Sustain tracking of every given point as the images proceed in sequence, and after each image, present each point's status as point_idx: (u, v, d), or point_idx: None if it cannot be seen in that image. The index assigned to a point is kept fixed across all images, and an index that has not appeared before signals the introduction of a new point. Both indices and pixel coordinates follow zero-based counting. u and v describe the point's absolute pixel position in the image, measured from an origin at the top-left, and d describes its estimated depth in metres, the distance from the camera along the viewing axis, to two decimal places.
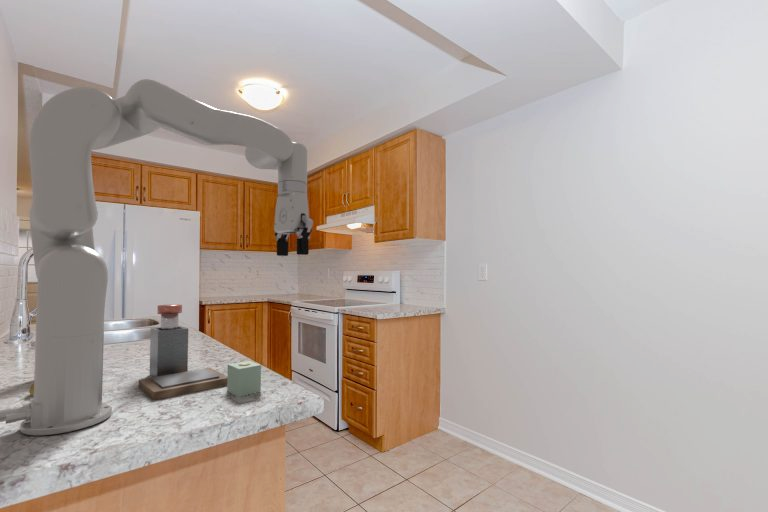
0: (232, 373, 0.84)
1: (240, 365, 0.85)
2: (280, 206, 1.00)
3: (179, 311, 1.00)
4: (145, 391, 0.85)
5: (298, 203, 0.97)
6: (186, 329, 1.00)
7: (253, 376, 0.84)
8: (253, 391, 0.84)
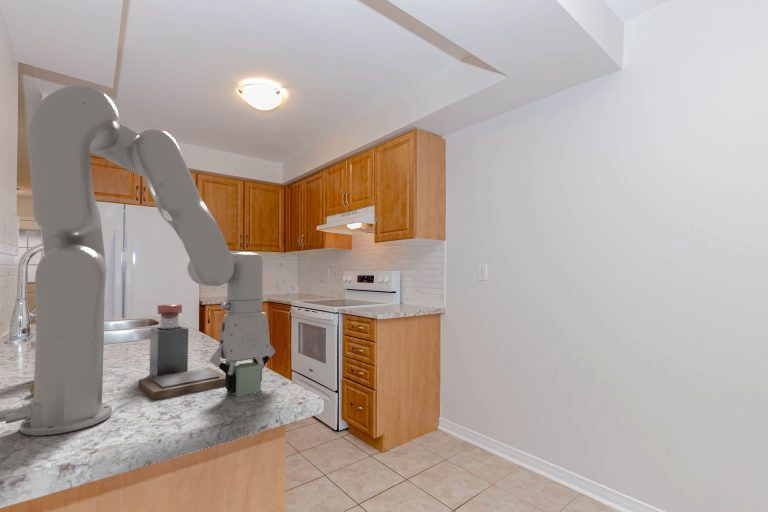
0: None
1: (240, 365, 0.85)
2: (244, 328, 0.84)
3: (179, 311, 1.00)
4: (145, 391, 0.85)
5: None
6: (186, 329, 1.00)
7: (253, 376, 0.84)
8: (253, 391, 0.84)
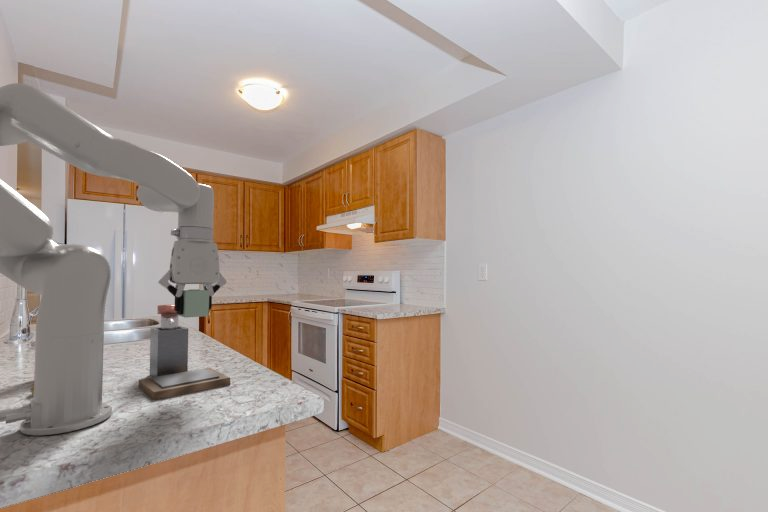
0: None
1: (189, 289, 0.89)
2: (193, 253, 0.88)
3: None
4: (145, 391, 0.85)
5: None
6: (186, 329, 1.00)
7: (201, 300, 0.89)
8: (200, 314, 0.88)
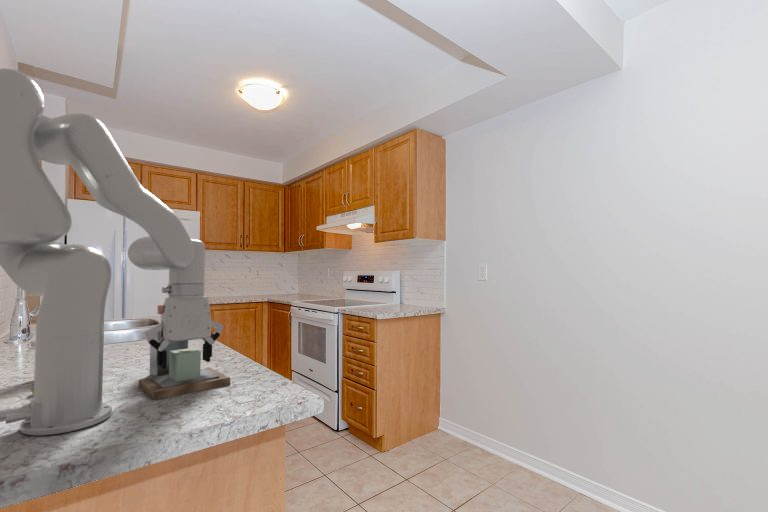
0: (173, 359, 0.89)
1: (180, 351, 0.89)
2: (184, 310, 0.88)
3: None
4: (145, 391, 0.85)
5: None
6: None
7: (192, 362, 0.89)
8: (192, 376, 0.89)
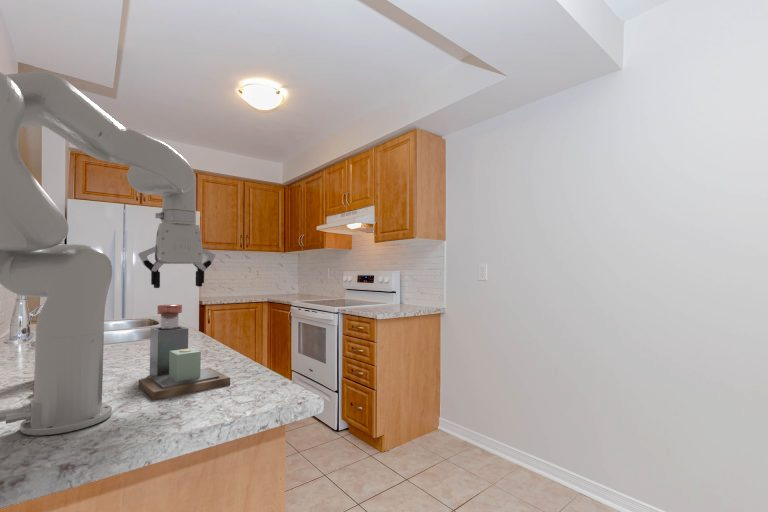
0: (173, 359, 0.89)
1: (180, 351, 0.89)
2: (176, 235, 0.94)
3: (179, 311, 1.00)
4: (145, 391, 0.85)
5: None
6: (186, 329, 1.00)
7: (192, 362, 0.89)
8: (192, 376, 0.89)
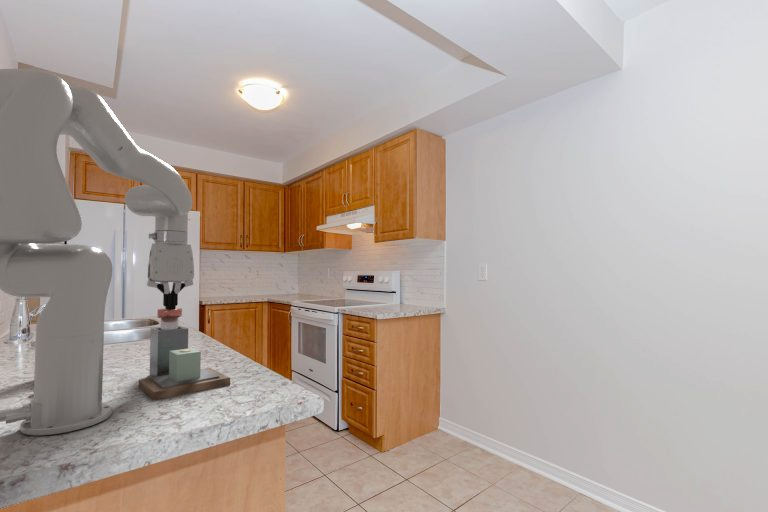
0: (173, 359, 0.89)
1: (180, 351, 0.89)
2: (169, 255, 0.98)
3: (179, 315, 1.00)
4: (145, 391, 0.85)
5: None
6: (186, 329, 1.00)
7: (192, 362, 0.89)
8: (192, 376, 0.89)
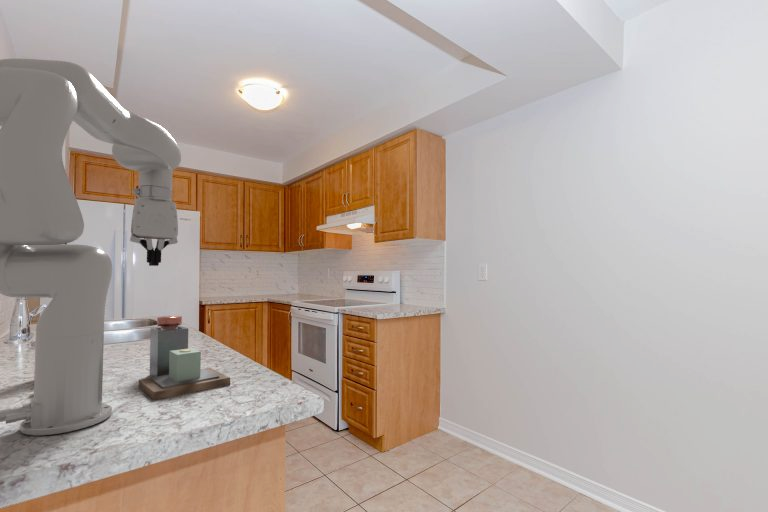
0: (173, 359, 0.89)
1: (180, 351, 0.89)
2: (152, 210, 0.98)
3: (179, 323, 1.00)
4: (145, 391, 0.85)
5: None
6: (186, 329, 1.00)
7: (192, 362, 0.89)
8: (192, 376, 0.89)
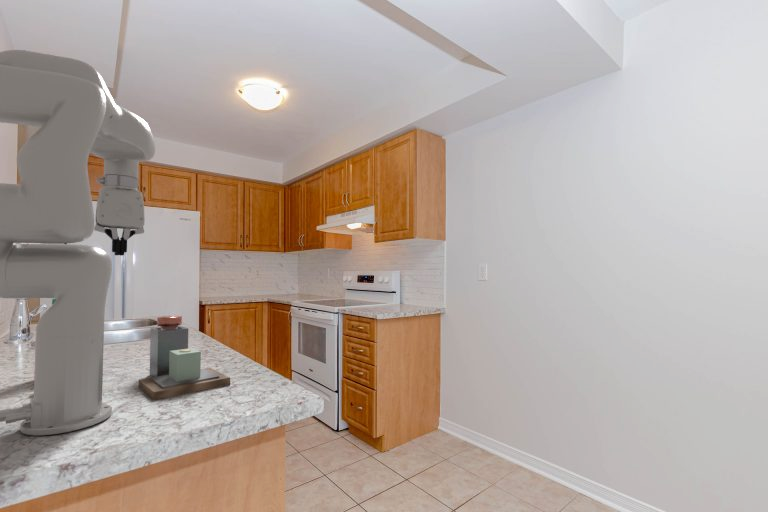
0: (173, 359, 0.89)
1: (180, 351, 0.89)
2: (117, 199, 0.97)
3: (179, 323, 1.00)
4: (145, 391, 0.85)
5: None
6: (186, 329, 1.00)
7: (192, 362, 0.89)
8: (192, 376, 0.89)
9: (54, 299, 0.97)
